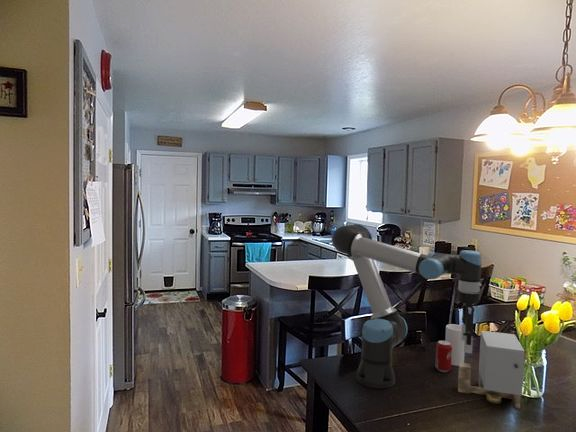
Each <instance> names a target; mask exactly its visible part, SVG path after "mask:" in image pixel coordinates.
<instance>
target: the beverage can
mask: <svg viewBox="0 0 576 432" xmlns="http://www.w3.org/2000/svg"><path fill="white" fill-rule="evenodd" d="M435 345H436V346H435V362H434V363H435V366H434V367H435V368H436V369H437V371H439V372H441V373H449V371H451V370H452V365H451V358H452V346H451V343H450V342H448V341H445V340H438V341H437V343H436V344H435Z"/></svg>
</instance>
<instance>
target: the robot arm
mask: <svg viewBox="0 0 576 432" xmlns="http://www.w3.org/2000/svg"><path fill="white" fill-rule="evenodd" d="M331 243H332V245H333V247H334V249H335V250H337V252H339V253H341V254H345V255H347V258H348V259H349V260H351V261H352V262H353V265H354V267H355V270H356V273H357V275H358V277H359V279H360V283H361V286H362V288H363V291H364V294H365V297H366V299H367V301H368V302H367V303H368V305H369V306H370V310H371V313H372V314H371V317H370V319H368V320H366V321H365V322H364V323H363V326H362V331H361V333H362V335H361V337H362V339H361V343H362V344H361V360H360V362H359V366H358V369H357V370H356V380H357V382H358V383H359V384H360V385H362V386H365V387H367V388H371V389H382V390H384V389H389V388H392V387H393V386H394V385H395V383H396V375H395V372H394V368H393V365H392V356H393V355H392V351H393V348H394V347H396V346H397V345H399V344H401V343H402V342H403V340H404V339H405V338H406V337H407V334H408V330H409V328H408V324H407V322H406V319H404V317H402V316H401V315H400V314H399V312H398V310H397V309H396V308H395V307H393V305H392V304H391V301H390V299H389V295H388V294H387V291H386V288H385V285H384V282H383V281H382V277H381V275H380V272H379V270H378V268H377V264H376V262H379V263H383V264H386V265H390V266H393V267H395V268H399V269H402V270H406V271H409V272H412V273H416V274H419V275H421V277H423V278H424V279H426V280H436V279H438V278H440V277H441V276H443V275H446V274H449V275H458V283H457V284H458V286H457V289H458V292H457V301H459V302H460V303H462V307H461V309H462V310H461V311H462V314H461V326H462V335H461V340H463V341H464V353H465V354H473V343H474V342H473V340H474V335H475V334H474V318H475V317H474V316H475V315H474V313H475V307H474V306H473V305H474V304H475V305H476V304H479V303H480V298H481V297H480V291H481V287H482V286H483V285H482V283H481V276H482V275H481V274H482V273H481V272H482V254H481V253H480V252H479V251H477V250H468V249H467V250H465V249H463V250H460V251H459V254H450V253H443V252H442V253H440V252H429V253H428V254H424V253H423V254H422V253H420V252H417V251H413V250H410V249H406V248H403V247H399V246H397V245H393V244H388V243H385V242H382V241H378V240H374V239H373V234H372V232H371V230H370V229H369V228H368V227H367V226H365V225H362V224H357V223H354V224H347V225H342V226H339V227H337V228H336V229H335V230H334V231H333V234H332V236H331ZM375 261H376V262H375Z"/></svg>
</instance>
